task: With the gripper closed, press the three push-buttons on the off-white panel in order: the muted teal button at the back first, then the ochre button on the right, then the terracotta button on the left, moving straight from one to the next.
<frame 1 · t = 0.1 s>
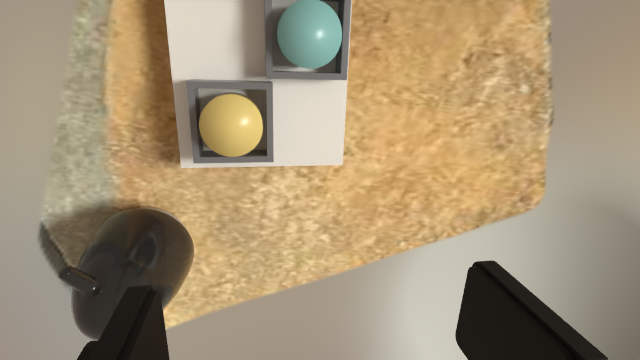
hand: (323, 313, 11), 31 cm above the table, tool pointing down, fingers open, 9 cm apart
button ochre: (232, 124, 33), point 6 cm above the table, slide at 0.0 cm
button teal: (308, 35, 32), point 6 cm above the table, slide at 0.0 cm
button panel: (261, 36, 36), on the table
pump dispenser: (153, 233, 42), on the table
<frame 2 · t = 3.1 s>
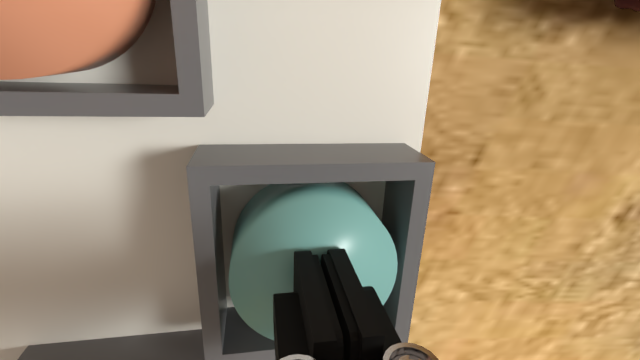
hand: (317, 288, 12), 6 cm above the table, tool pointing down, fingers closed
button teal: (310, 258, 13), point 5 cm above the table, slide at 1.0 cm, touching gripper
button panel: (210, 208, 16), on the table
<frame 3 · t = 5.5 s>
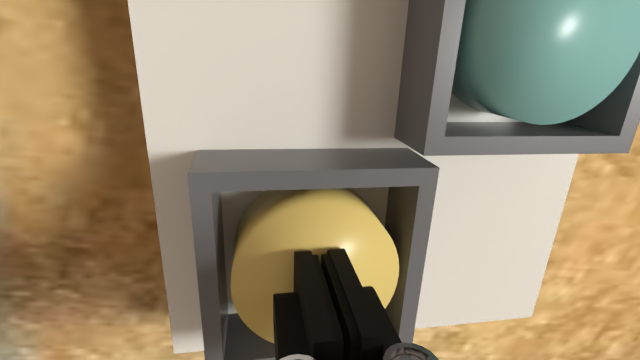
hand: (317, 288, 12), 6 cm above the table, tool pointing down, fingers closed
button ochre: (312, 261, 13), point 4 cm above the table, slide at 1.2 cm, touching gripper
button teal: (536, 30, 11), point 4 cm above the table, slide at 1.2 cm
button panel: (372, 31, 15), on the table
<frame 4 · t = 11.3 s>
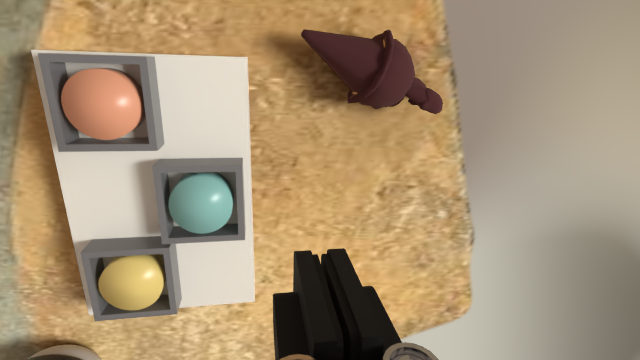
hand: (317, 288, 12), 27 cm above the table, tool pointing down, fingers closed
button ochre: (134, 278, 35), point 4 cm above the table, slide at 1.2 cm
button teal: (202, 201, 34), point 4 cm above the table, slide at 1.2 cm
button terracotta: (106, 103, 29), point 4 cm above the table, slide at 1.3 cm
button panel: (168, 186, 37), on the table
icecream: (362, 69, 37), on the table
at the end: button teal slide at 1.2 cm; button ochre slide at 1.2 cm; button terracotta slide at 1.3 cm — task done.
